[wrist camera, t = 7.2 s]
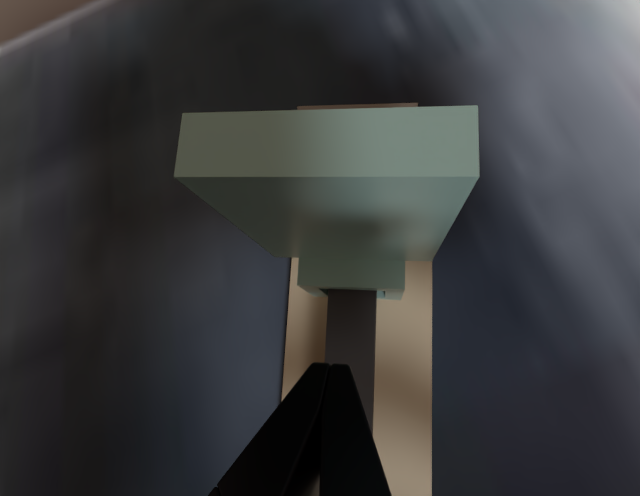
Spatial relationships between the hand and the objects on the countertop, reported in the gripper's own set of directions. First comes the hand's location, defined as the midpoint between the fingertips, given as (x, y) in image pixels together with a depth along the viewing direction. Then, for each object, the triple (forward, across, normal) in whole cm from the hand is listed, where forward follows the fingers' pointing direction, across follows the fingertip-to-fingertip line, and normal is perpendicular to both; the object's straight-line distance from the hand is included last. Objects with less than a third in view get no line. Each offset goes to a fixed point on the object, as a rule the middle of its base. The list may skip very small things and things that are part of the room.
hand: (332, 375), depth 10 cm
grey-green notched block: (+8, 0, +2) cm, 8 cm away
